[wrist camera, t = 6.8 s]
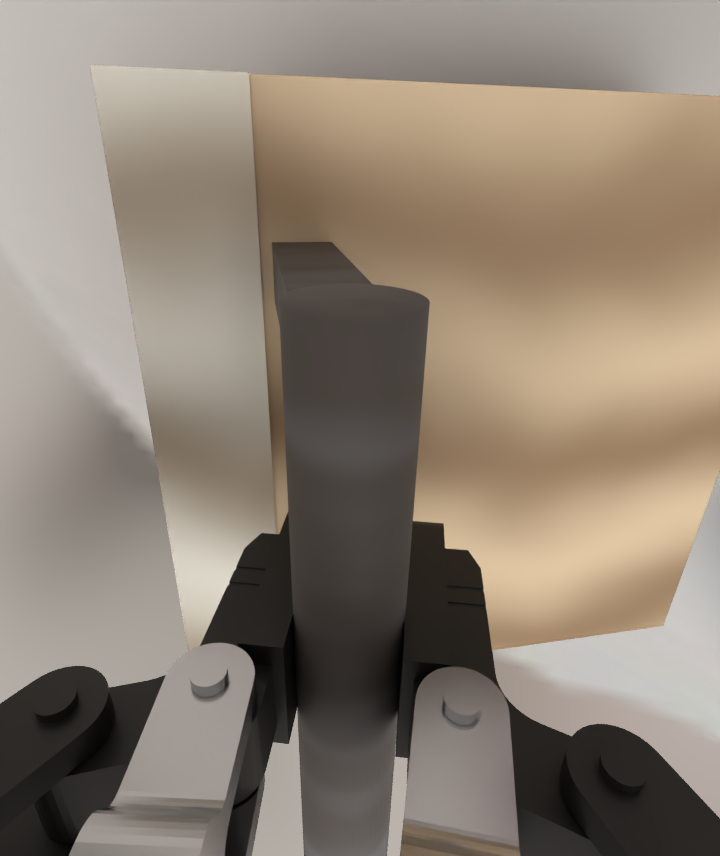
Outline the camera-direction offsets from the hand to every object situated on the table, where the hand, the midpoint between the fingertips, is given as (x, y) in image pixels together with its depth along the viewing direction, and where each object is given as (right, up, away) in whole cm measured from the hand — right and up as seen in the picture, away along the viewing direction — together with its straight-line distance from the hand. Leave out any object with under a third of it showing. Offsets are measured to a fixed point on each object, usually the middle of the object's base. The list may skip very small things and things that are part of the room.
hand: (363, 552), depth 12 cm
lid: (+3, +3, +6) cm, 7 cm away
